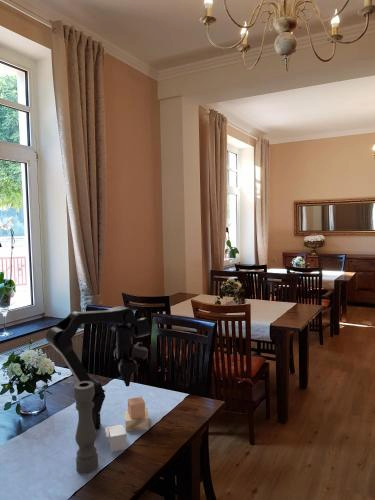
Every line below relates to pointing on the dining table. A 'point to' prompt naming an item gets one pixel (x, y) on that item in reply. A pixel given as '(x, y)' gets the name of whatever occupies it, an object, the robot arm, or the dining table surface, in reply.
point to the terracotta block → (136, 407)
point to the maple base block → (136, 422)
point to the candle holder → (85, 428)
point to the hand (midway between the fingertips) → (125, 381)
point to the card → (109, 428)
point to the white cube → (117, 438)
